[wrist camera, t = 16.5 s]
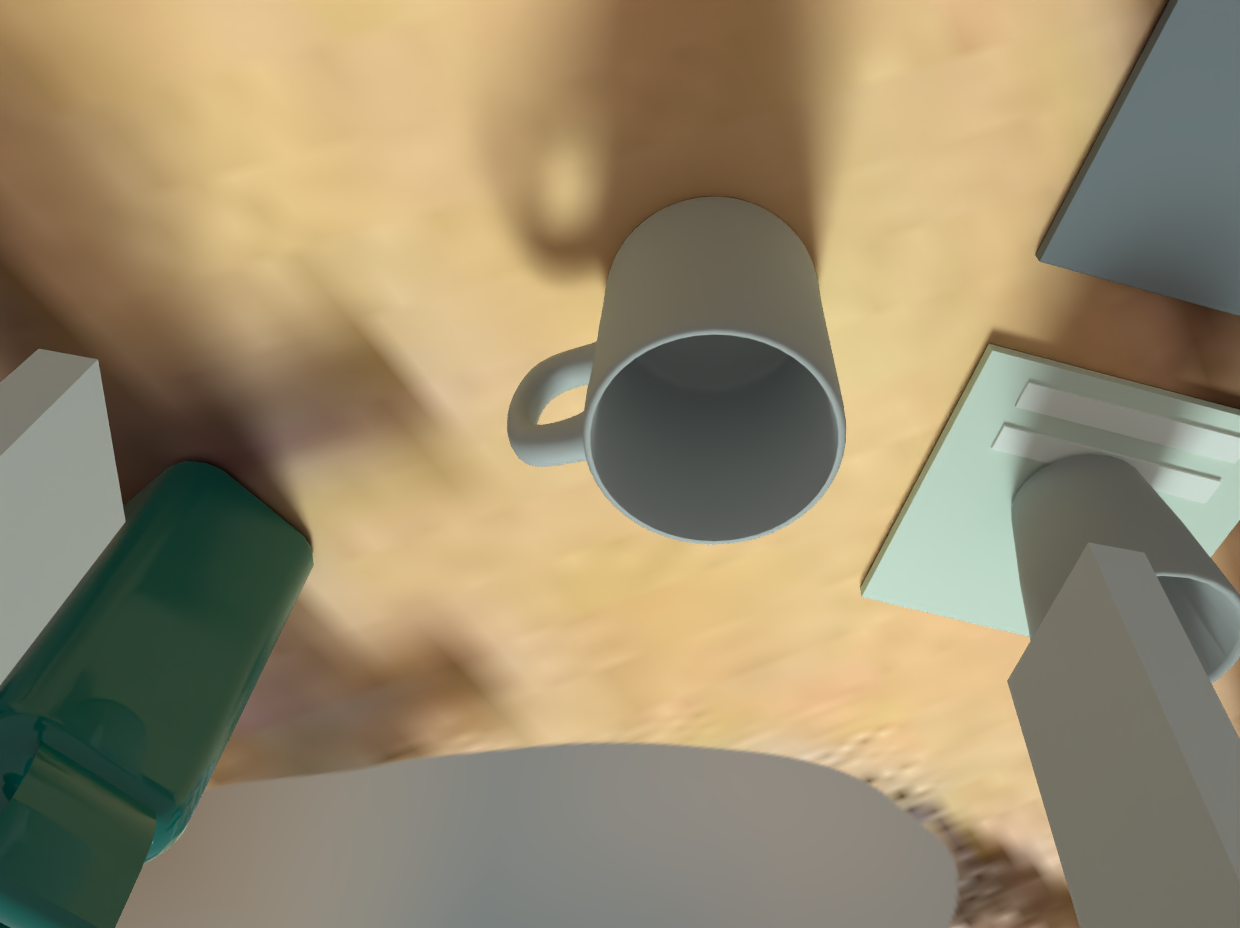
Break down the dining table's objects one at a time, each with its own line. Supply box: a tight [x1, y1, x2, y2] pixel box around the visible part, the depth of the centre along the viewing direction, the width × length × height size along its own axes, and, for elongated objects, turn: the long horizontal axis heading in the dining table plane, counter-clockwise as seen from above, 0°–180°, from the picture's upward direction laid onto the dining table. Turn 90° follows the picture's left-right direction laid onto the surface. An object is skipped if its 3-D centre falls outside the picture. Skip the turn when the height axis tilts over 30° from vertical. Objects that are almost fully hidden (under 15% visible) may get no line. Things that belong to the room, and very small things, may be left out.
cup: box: [1011, 454, 1240, 683], centre depth 42 cm, size 8×10×8 cm
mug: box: [507, 196, 846, 545], centre depth 37 cm, size 12×8×11 cm
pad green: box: [860, 344, 1240, 637], centre depth 45 cm, size 14×14×1 cm
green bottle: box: [0, 461, 313, 928], centre depth 41 cm, size 10×8×22 cm
